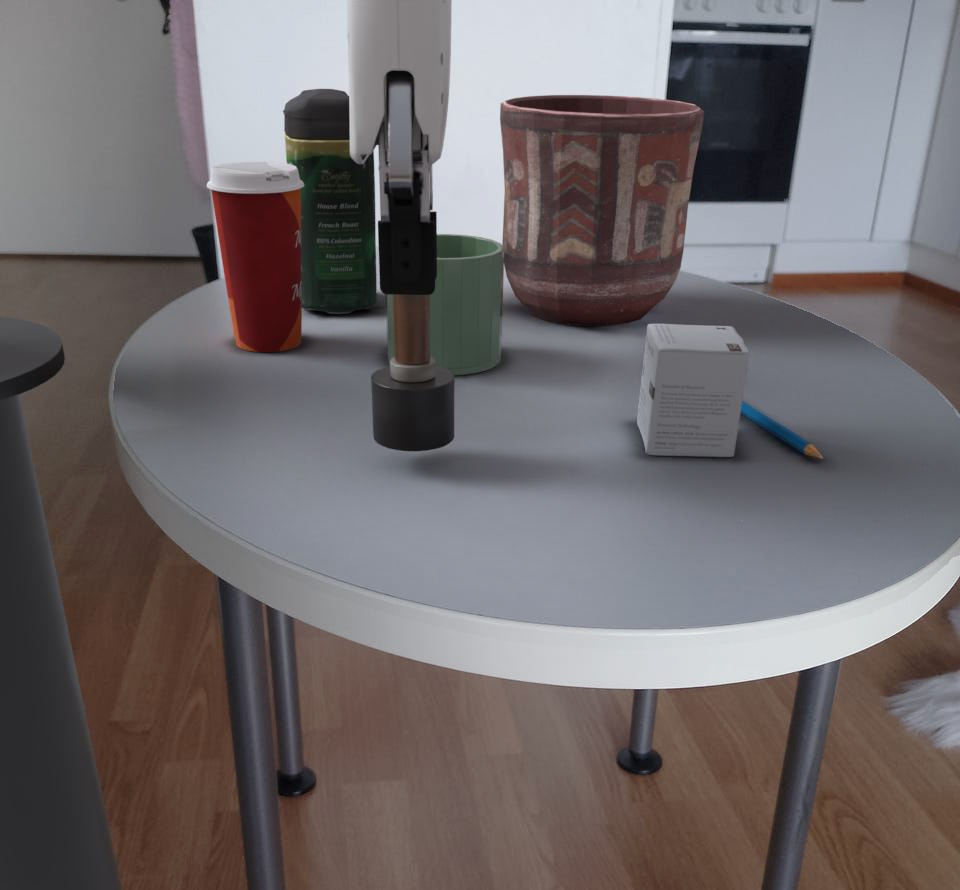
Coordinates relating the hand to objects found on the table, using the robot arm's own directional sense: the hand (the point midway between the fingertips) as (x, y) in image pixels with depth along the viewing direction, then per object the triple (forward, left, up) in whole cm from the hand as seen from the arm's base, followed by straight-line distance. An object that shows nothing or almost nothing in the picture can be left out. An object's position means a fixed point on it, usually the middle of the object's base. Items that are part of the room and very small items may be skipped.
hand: (409, 284), depth 65 cm
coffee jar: (+10, +40, -12) cm, 43 cm away
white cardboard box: (+19, -4, -12) cm, 23 cm away
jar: (+12, +20, -12) cm, 26 cm away
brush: (0, 0, -10) cm, 10 cm away
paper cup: (0, +30, -12) cm, 32 cm away
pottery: (+31, +28, -12) cm, 43 cm away
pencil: (+26, -3, -12) cm, 28 cm away
